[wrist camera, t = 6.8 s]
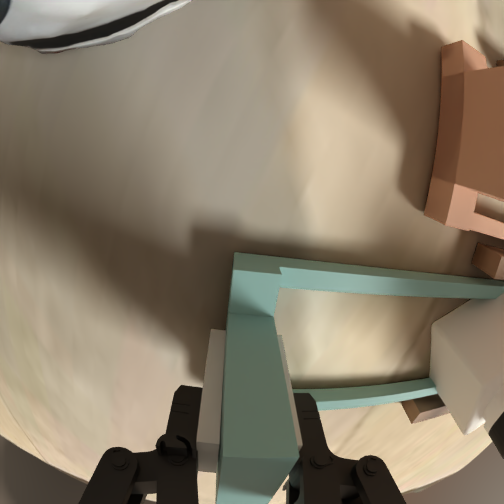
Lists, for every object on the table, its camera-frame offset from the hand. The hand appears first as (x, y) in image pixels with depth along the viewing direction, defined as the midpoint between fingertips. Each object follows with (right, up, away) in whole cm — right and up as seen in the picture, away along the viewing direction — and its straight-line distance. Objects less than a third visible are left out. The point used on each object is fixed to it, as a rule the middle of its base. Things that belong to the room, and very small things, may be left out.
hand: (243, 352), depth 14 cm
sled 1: (+10, -1, +2) cm, 11 cm away
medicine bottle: (+17, -1, +3) cm, 18 cm away
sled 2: (+22, +11, -2) cm, 24 cm away
